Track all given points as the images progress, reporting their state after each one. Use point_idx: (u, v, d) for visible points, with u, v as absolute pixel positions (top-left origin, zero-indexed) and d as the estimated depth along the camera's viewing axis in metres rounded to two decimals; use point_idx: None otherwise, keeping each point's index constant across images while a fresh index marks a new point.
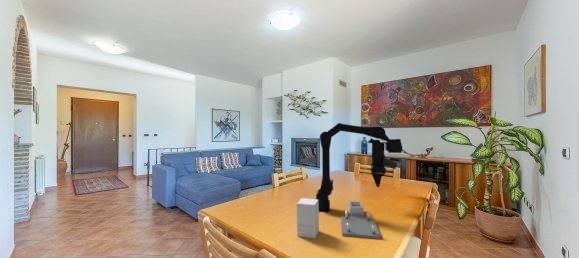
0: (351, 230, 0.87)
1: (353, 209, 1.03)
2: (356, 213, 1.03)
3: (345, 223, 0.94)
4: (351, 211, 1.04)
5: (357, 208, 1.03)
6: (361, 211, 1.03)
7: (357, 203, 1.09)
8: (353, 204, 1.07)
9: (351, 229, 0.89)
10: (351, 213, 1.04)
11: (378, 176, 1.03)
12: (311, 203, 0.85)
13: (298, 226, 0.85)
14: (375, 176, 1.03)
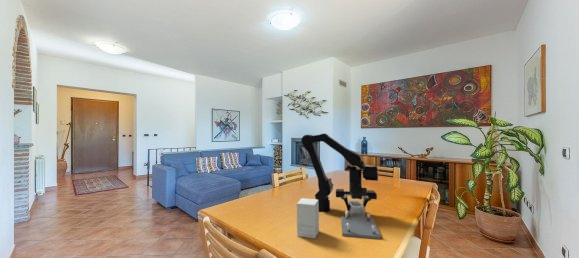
0: (351, 230, 0.87)
1: (355, 209, 1.03)
2: (358, 212, 1.03)
3: (345, 223, 0.94)
4: (353, 211, 1.03)
5: (359, 208, 1.03)
6: (363, 210, 1.03)
7: (357, 202, 1.09)
8: (353, 203, 1.07)
9: (351, 229, 0.89)
10: (353, 213, 1.03)
11: None
12: (311, 203, 0.85)
13: (298, 226, 0.85)
14: None
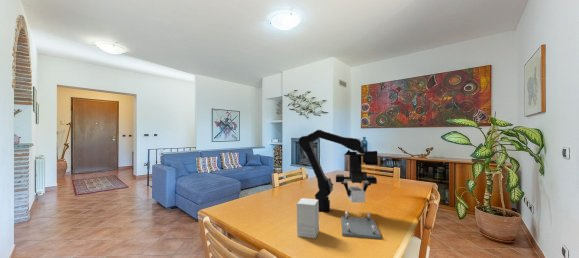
0: (351, 230, 0.87)
1: (355, 193, 1.03)
2: (358, 197, 1.03)
3: (345, 223, 0.94)
4: (353, 195, 1.03)
5: (359, 192, 1.03)
6: (363, 194, 1.03)
7: (357, 188, 1.09)
8: (353, 188, 1.07)
9: (351, 229, 0.89)
10: (353, 197, 1.03)
11: None
12: (311, 203, 0.85)
13: (298, 226, 0.85)
14: None
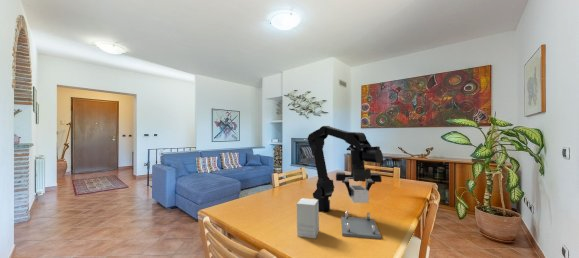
0: (351, 230, 0.87)
1: (357, 193, 0.93)
2: (361, 197, 0.93)
3: (345, 223, 0.94)
4: (355, 195, 0.93)
5: (362, 191, 0.93)
6: (366, 194, 0.93)
7: (359, 187, 0.99)
8: (355, 188, 0.97)
9: (351, 229, 0.89)
10: (355, 197, 0.93)
11: None
12: (311, 203, 0.85)
13: (298, 226, 0.85)
14: None
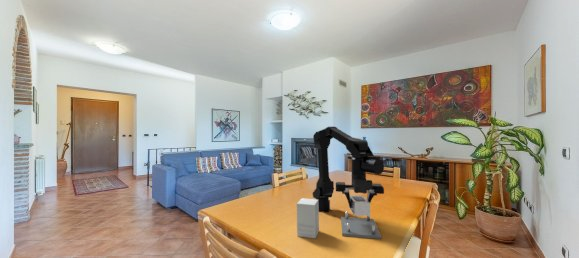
0: (351, 230, 0.87)
1: (358, 205, 0.88)
2: (362, 209, 0.88)
3: (345, 223, 0.94)
4: (356, 207, 0.88)
5: (363, 203, 0.88)
6: (368, 206, 0.87)
7: (360, 198, 0.93)
8: (356, 199, 0.92)
9: (351, 229, 0.89)
10: (356, 210, 0.88)
11: None
12: (311, 203, 0.85)
13: (298, 226, 0.85)
14: None
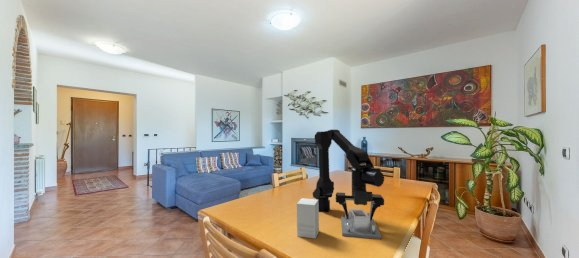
0: (351, 230, 0.87)
1: (358, 220, 0.88)
2: (361, 224, 0.87)
3: (345, 223, 0.94)
4: (356, 222, 0.88)
5: (363, 219, 0.87)
6: (367, 222, 0.87)
7: (360, 212, 0.93)
8: (356, 213, 0.92)
9: (351, 229, 0.89)
10: (356, 225, 0.88)
11: None
12: (311, 203, 0.85)
13: (298, 226, 0.85)
14: None
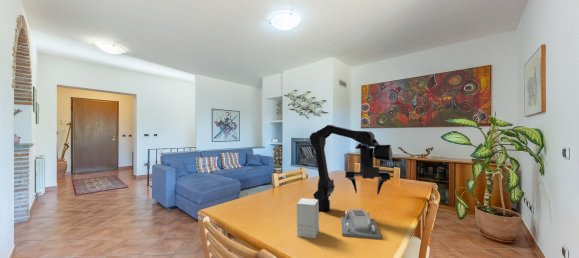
0: (351, 230, 0.87)
1: (358, 220, 0.88)
2: (361, 224, 0.87)
3: (345, 223, 0.94)
4: (356, 222, 0.88)
5: (363, 219, 0.87)
6: (367, 222, 0.87)
7: (360, 212, 0.93)
8: (356, 213, 0.92)
9: (351, 229, 0.89)
10: (356, 225, 0.88)
11: None
12: (311, 203, 0.85)
13: (298, 226, 0.85)
14: None
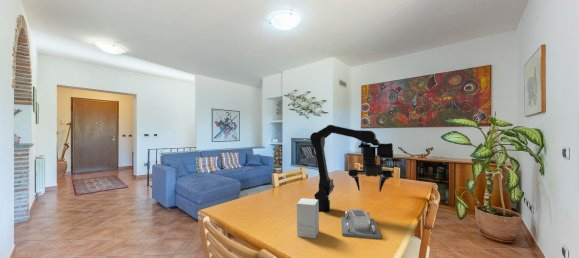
0: (351, 230, 0.87)
1: (358, 220, 0.88)
2: (361, 224, 0.87)
3: (345, 223, 0.94)
4: (356, 222, 0.88)
5: (363, 219, 0.87)
6: (367, 222, 0.87)
7: (360, 212, 0.93)
8: (356, 213, 0.92)
9: (351, 229, 0.89)
10: (356, 225, 0.88)
11: None
12: (311, 203, 0.85)
13: (298, 226, 0.85)
14: None
